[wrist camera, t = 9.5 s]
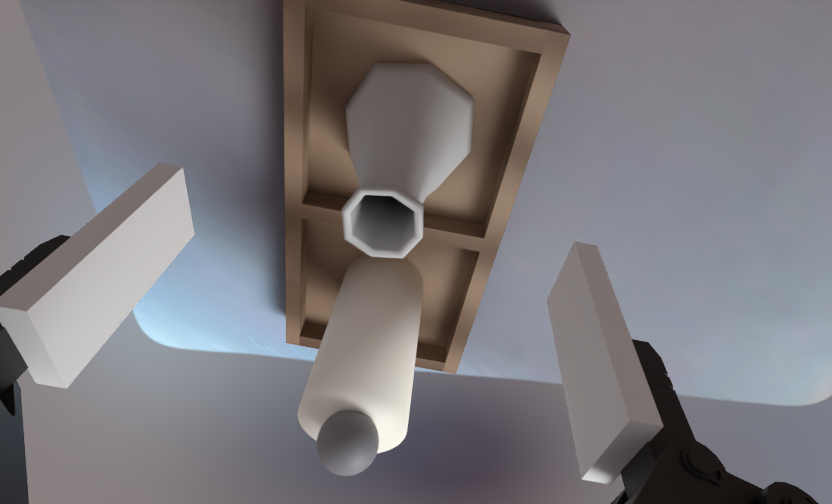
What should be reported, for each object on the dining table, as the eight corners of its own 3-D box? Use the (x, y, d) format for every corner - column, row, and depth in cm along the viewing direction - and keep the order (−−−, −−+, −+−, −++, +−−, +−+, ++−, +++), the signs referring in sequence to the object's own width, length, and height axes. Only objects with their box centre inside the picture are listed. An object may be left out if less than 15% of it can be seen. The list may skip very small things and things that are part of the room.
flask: (447, 202, 28) (439, 318, 20) (332, 162, 27) (274, 266, 19) (497, 87, 23) (513, 175, 15) (362, 36, 23) (305, 100, 15)
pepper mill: (347, 244, 30) (280, 427, 19) (430, 260, 30) (410, 450, 19) (342, 305, 34) (282, 490, 23) (416, 319, 34) (392, 509, 23)
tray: (298, -28, 22) (282, -24, 20) (562, 25, 22) (571, 35, 20) (295, 321, 36) (286, 342, 34) (456, 350, 36) (455, 373, 35)
